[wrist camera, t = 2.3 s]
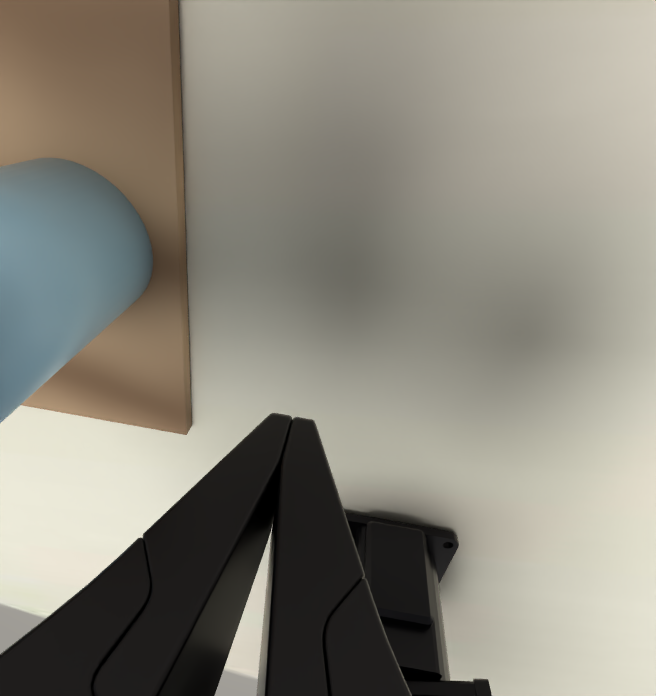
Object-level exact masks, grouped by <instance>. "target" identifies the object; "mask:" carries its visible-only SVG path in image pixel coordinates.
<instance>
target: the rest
mask: <svg viewBox="0 0 656 696" xmlns="http://www.w3.org/2000/svg"><path fill="white" fill-rule="evenodd" d="M37 158H60V159H65V160H69V161H73V162H76V163H78V164H81V165H83V166H86V167H87V168H89V169H91V170H93V171H95V172H97V173H98V174H100V175H101V176H103V177H104V178H106V179H107V180H108V181H109V182H111V183H112V184H113V185H114V186H116V187H117V188H118V189H119V190H120V191H121V192H122V193H123V194H124V195H125V197H126V198H127V199H128V200H129V202H130V203H131V204H132V205H133V207H134V208H135V210H136V211H137V213H138V214H139V216H140V218H141V220H142V222H143V223H144V225H145V228H146V230H147V233H148V235H149V239H150V243H151V247H152V254H153V268H152V275H151V278H150V281H149V284H148V286H147V288H146V290H145V291H144V292H143V294H142V295H141V296H140V297H139V298H138V299H137V300H136V301H135V302H134V303H133V304H132V305H131V306H130V307H128V308H127V309H126V310H125V311H124V312H123V313H122V314H121V315H120V316H118V317H117V318H116V319H115V320H114V321H113V322H112V323H111V324H110V325H109V326H107V327H106V328H105V329H104V330H103V331H102V332H101V333H100V334H99V335H97V336H96V337H95V338H94V339H93V340H92V341H91V342H90V343H89V344H87V345H86V346H85V347H84V348H83V349H82V350H81V351H80V352H79V353H77V354H76V355H75V356H74V357H73V358H72V359H71V360H70V361H69V362H67V363H66V364H65V365H64V366H63V367H62V368H61V369H60V370H59V371H57V372H56V373H55V374H54V375H53V376H52V377H51V378H50V379H49V380H48V381H46V382H45V383H44V384H43V385H42V386H41V387H40V388H39V389H38V390H36V391H35V392H34V393H33V394H32V395H31V396H30V397H29V398H28V399H26V400H25V401H24V402H23V403H22V404H21V405H23V406H29V407H34V408H40V409H46V410H51V411H57V412H62V413H68V414H73V415H79V416H84V417H90V418H95V419H101V420H107V421H112V422H118V423H123V424H129V425H134V426H140V427H145V428H151V429H156V430H162V431H167V432H173V433H179V434H184V435H187V433H188V431H189V430H190V428H191V426H192V419H191V388H190V356H189V325H188V294H187V263H186V231H185V200H184V169H183V137H182V106H181V75H180V44H179V12H178V0H0V167H1V166H6V165H10V164H15V163H19V162H24V161H28V160H33V159H37Z"/></svg>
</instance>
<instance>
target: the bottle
mask: <svg viewBox="0 0 656 696" xmlns="http://www.w3.org/2000/svg"><path fill="white" fill-rule="evenodd" d="M152 268H153V254H152V247H151V243H150V239H149V235H148V233H147V230H146V228H145V225H144V223H143V222H142V220H141V218H140V216H139V214H138V213H137V211H136V210H135V208H134V207H133V205H132V204H131V203H130V202H129V200H128V199H127V198H126V197H125V195H124V194H123V193H122V192H121V191H120V190H119V189H118V188H117V187H116V186H114V185H113V184H112V183H111V182H109V181H108V180H107V179H106V178H104V177H103V176H101V175H100V174H98V173H97V172H95V171H93V170H91V169H89V168H87V167H86V166H83V165H81V164H78V163H76V162H73V161H69V160H65V159H60V158H37V159H33V160H28V161H24V162H19V163H15V164H10V165H6V166H1V167H0V423H1V422H2V421H3V420H4V419H5V418H6V417H8V416H9V415H10V414H11V413H12V412H13V411H14V410H15V409H16V408H18V407H19V406H20V405H21V404H22V403H23V402H24V401H25V400H26V399H28V398H29V397H30V396H31V395H32V394H33V393H34V392H35V391H36V390H38V389H39V388H40V387H41V386H42V385H43V384H44V383H45V382H46V381H48V380H49V379H50V378H51V377H52V376H53V375H54V374H55V373H56V372H57V371H59V370H60V369H61V368H62V367H63V366H64V365H65V364H66V363H67V362H69V361H70V360H71V359H72V358H73V357H74V356H75V355H76V354H77V353H79V352H80V351H81V350H82V349H83V348H84V347H85V346H86V345H87V344H89V343H90V342H91V341H92V340H93V339H94V338H95V337H96V336H97V335H99V334H100V333H101V332H102V331H103V330H104V329H105V328H106V327H107V326H109V325H110V324H111V323H112V322H113V321H114V320H115V319H116V318H117V317H118V316H120V315H121V314H122V313H123V312H124V311H125V310H126V309H127V308H128V307H130V306H131V305H132V304H133V303H134V302H135V301H136V300H137V299H138V298H139V297H140V296H141V295H142V294H143V292H144V291H145V290H146V288H147V286H148V284H149V281H150V278H151V275H152Z"/></svg>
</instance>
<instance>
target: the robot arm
mask: <svg viewBox="0 0 656 696" xmlns="http://www.w3.org/2000/svg"><path fill="white" fill-rule="evenodd" d="M272 524H273V526H272ZM271 528H272V534H271V542H270V553H269V564H268V575H267V586H266V597H265V608H264V619H263V630H262V641H261V652H260V663H259V674H258V685H257V696H492V695H491V690H490V686H489V681H488V679H473V682H470V681H450V674H449V666H448V658H447V649H446V641H445V633H444V625H443V616H442V608H441V600H440V592H439V583H440V581H441V579H442V577H443V575H444V573H445V571H446V569H447V567H448V566H449V564H450V562H451V560H452V558H453V556H454V554H455V552H456V550H457V549H458V546H459V543H458V538H457V535H456V534H455V533H453V532H449V531H444V530H438V529H432V528H427V527H421V526H416V525H410V524H405V523H399V522H394V521H388V520H383V519H377V518H372V517H366V516H361V515H355V514H350V513H345V512H344V509H343V506H342V503H341V500H340V497H339V494H338V491H337V488H336V485H335V482H334V479H333V476H332V473H331V470H330V467H329V463H328V460H327V457H326V454H325V451H324V448H323V445H322V442H321V439H320V436H319V433H318V430H317V427H316V424H315V422H314V421H313V420H311V419H306V418H300V417H295V418H293V420H292V417H291V416H289V415H283V414H278V413H272V414H270V415H269V416H268V417H267V418H266V419H265V420H264V421H262V422H261V423H260V424H259V425H258V426H257V427H256V428H255V429H254V430H253V431H252V432H251V433H250V434H249V435H248V436H247V437H245V438H244V439H243V440H242V441H241V442H240V443H239V444H238V445H237V446H236V447H235V448H234V449H233V450H232V451H231V452H230V453H229V454H227V455H226V456H225V457H224V458H223V459H222V460H221V461H220V462H219V463H218V464H217V465H216V466H215V467H214V468H213V469H212V470H210V471H209V472H208V473H207V474H206V475H205V476H204V477H203V478H202V479H201V480H200V481H199V482H198V483H197V484H196V485H195V486H194V487H192V488H191V489H190V490H189V491H188V492H187V493H186V494H185V495H184V496H183V497H182V498H181V499H180V500H179V501H178V502H177V503H175V504H174V505H173V506H172V507H171V508H170V509H169V510H168V511H167V512H166V513H165V514H164V515H163V516H162V517H161V518H160V519H159V520H157V521H156V522H155V523H154V524H153V525H152V526H151V527H150V528H149V529H148V530H147V531H146V532H145V533H144V534H143V538H138V539H137V540H136V541H135V542H134V543H133V544H132V545H131V546H130V547H129V548H127V549H126V550H125V551H124V552H123V553H122V554H121V555H120V556H119V557H118V558H117V559H116V560H115V561H113V562H112V563H111V564H110V565H109V566H108V567H107V568H106V569H105V570H103V571H102V572H101V573H100V574H99V575H98V576H97V577H96V578H94V579H93V580H92V581H91V582H90V583H89V584H88V585H87V586H85V587H84V588H83V589H82V590H80V591H79V592H78V593H77V594H75V595H74V596H73V597H72V598H71V599H69V600H68V601H67V602H66V603H64V604H63V605H62V606H61V607H59V608H58V609H57V610H56V611H55V612H53V613H52V614H51V615H50V616H48V617H47V618H46V619H45V620H43V621H42V622H41V623H40V624H38V625H37V626H36V627H34V628H33V629H32V630H31V631H29V632H28V633H27V634H25V636H23V637H22V638H20V639H19V640H18V641H16V642H15V643H14V644H13V645H11V646H10V647H9V648H8V649H6V650H5V651H4V652H3V653H1V654H0V696H214V695H215V692H216V689H217V687H218V683H219V681H220V678H221V675H222V672H223V669H224V666H225V663H226V660H227V658H228V655H229V652H230V649H231V646H232V643H233V640H234V637H235V634H236V631H237V629H238V626H239V623H240V620H241V617H242V614H243V611H244V608H245V605H246V602H247V600H248V597H249V594H250V591H251V588H252V585H253V582H254V579H255V576H256V573H257V571H258V568H259V565H260V562H261V559H262V556H263V553H264V550H265V547H266V544H267V541H268V538H269V535H270V532H271Z"/></svg>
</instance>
